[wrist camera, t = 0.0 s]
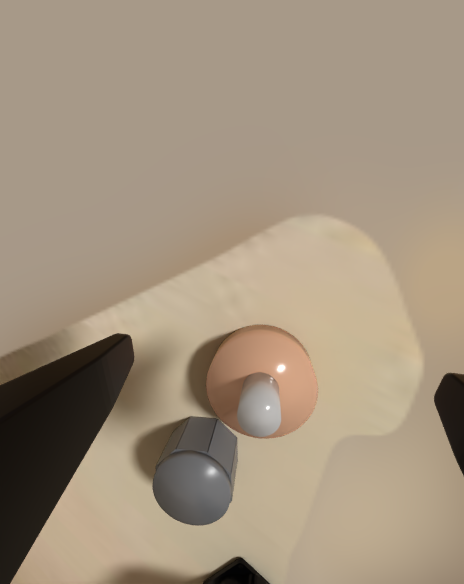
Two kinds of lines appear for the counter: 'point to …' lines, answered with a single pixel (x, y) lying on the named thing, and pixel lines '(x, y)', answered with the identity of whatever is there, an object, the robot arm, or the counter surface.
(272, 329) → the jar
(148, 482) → the counter surface
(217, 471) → the cap
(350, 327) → the counter surface
